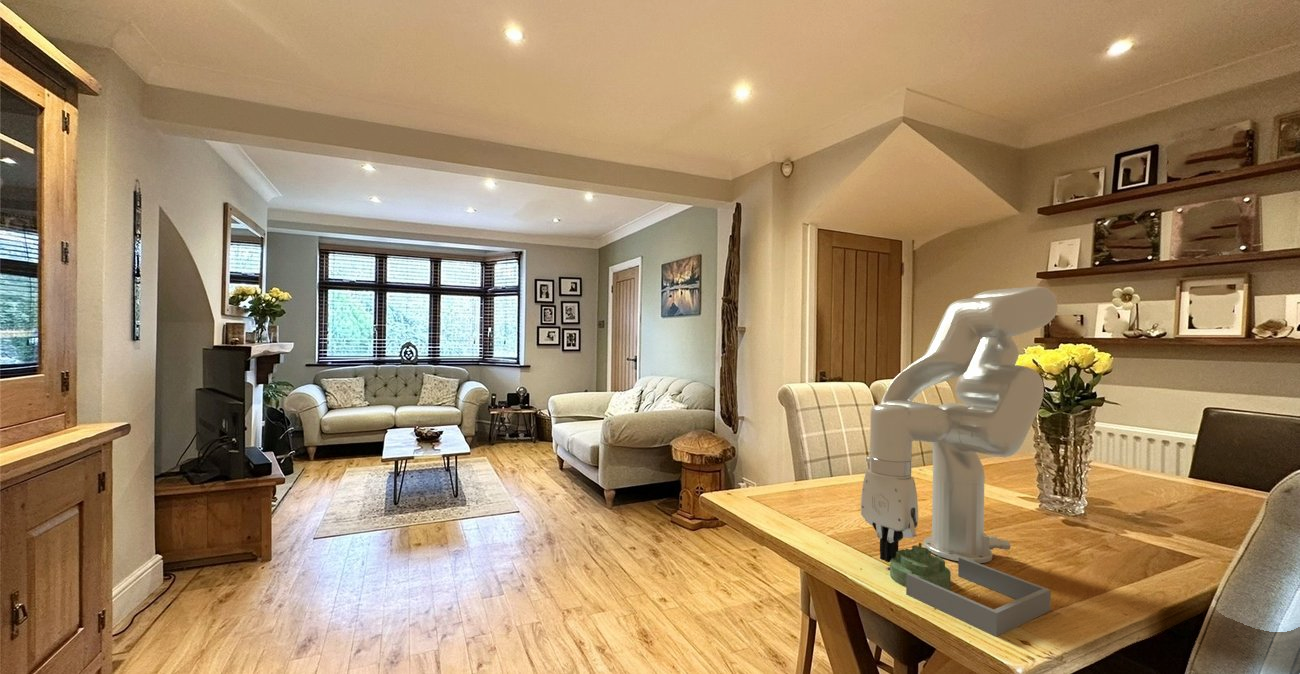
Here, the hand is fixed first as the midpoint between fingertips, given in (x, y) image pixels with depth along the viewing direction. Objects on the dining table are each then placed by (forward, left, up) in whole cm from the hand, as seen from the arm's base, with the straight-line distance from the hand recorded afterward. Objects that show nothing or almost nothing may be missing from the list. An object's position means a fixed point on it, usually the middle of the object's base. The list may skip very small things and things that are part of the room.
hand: (888, 559), depth 103 cm
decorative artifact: (-4, +5, -2) cm, 7 cm away
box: (-11, +12, -1) cm, 16 cm away
